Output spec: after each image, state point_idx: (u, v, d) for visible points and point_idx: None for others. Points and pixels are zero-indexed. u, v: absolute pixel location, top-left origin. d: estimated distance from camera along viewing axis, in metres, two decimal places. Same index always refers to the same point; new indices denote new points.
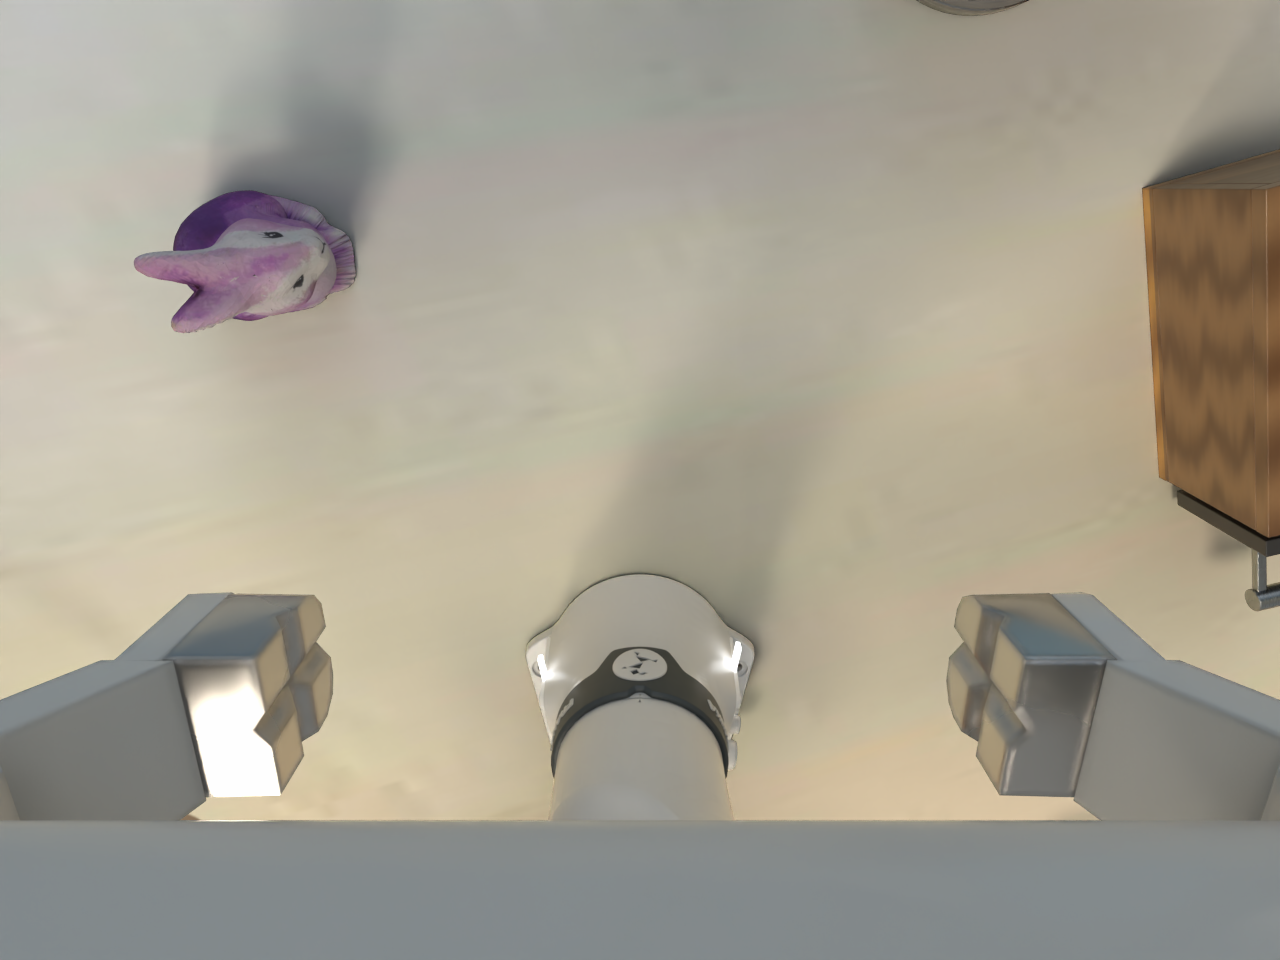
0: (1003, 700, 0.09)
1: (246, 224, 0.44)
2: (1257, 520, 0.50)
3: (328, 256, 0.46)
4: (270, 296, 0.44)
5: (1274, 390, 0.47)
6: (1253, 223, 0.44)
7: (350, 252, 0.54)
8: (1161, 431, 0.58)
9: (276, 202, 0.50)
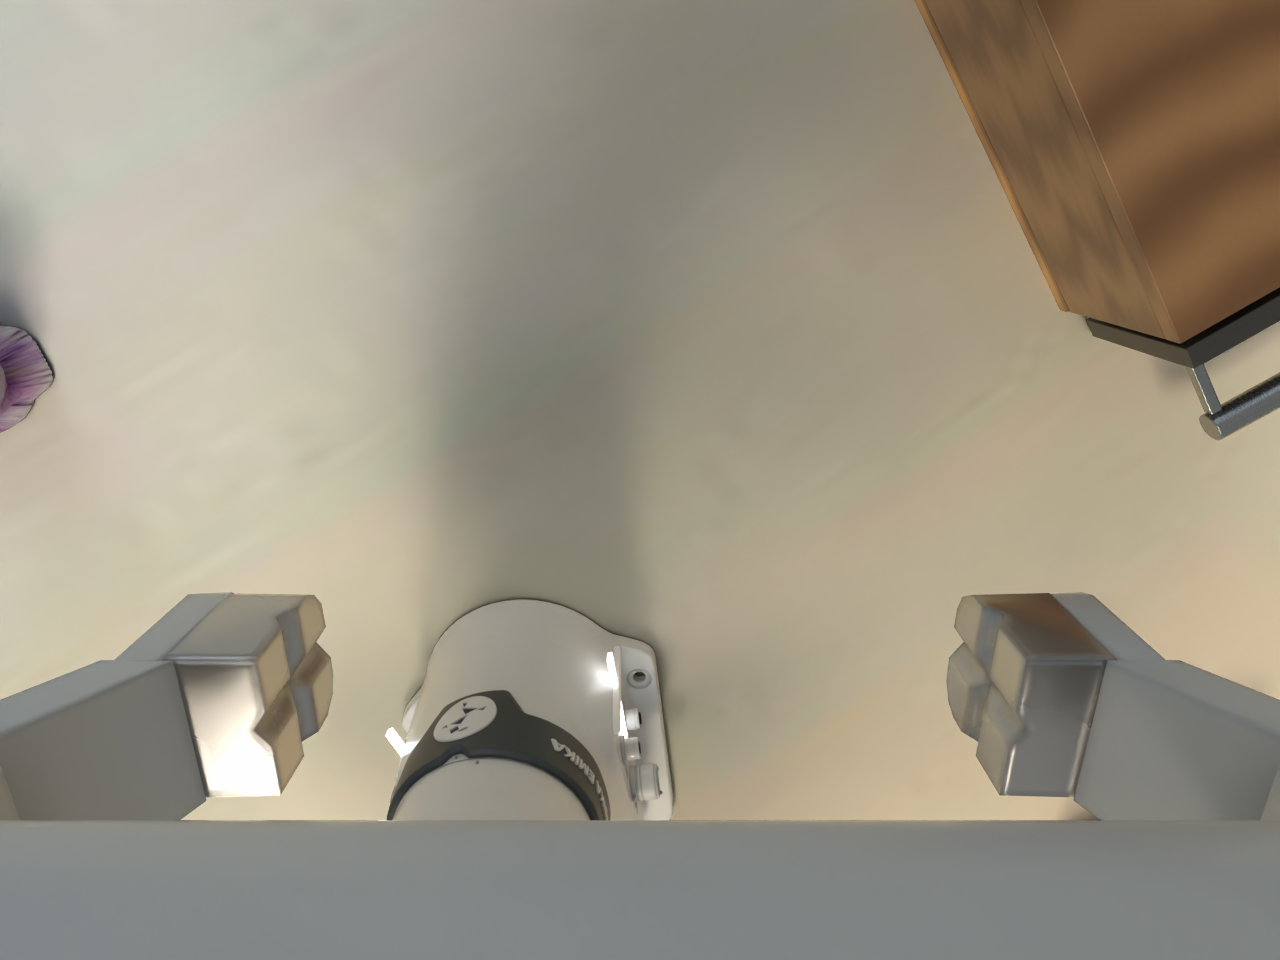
0: (1003, 700, 0.09)
1: None
2: (1161, 325, 0.37)
3: None
4: None
5: (1108, 149, 0.34)
6: None
7: (32, 347, 0.48)
8: (1038, 252, 0.46)
9: None
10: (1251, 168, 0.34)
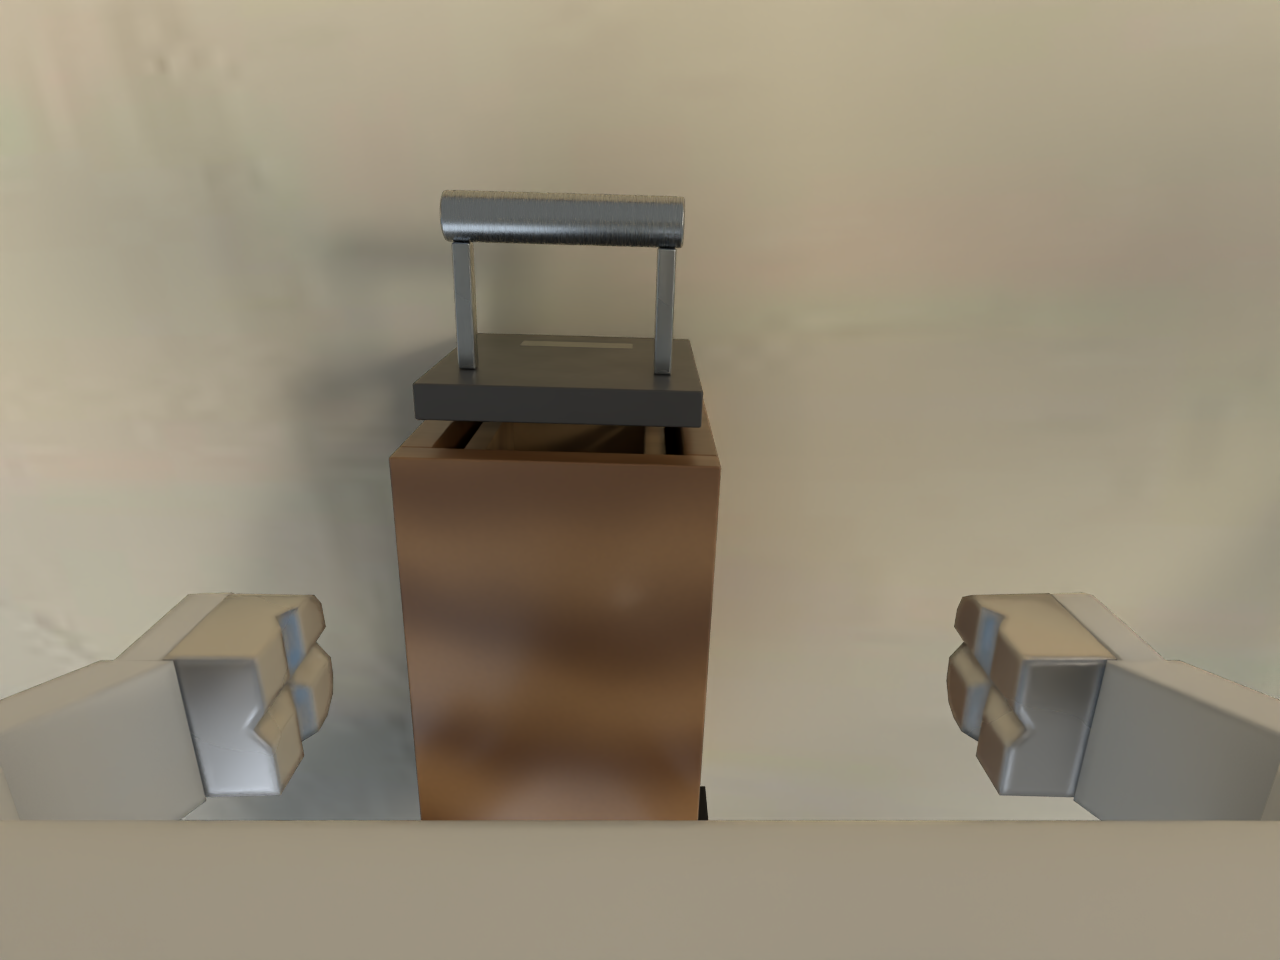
0: (1003, 700, 0.09)
1: None
2: None
3: None
4: None
5: (692, 729, 0.28)
6: None
7: None
8: None
9: None
10: (553, 622, 0.26)
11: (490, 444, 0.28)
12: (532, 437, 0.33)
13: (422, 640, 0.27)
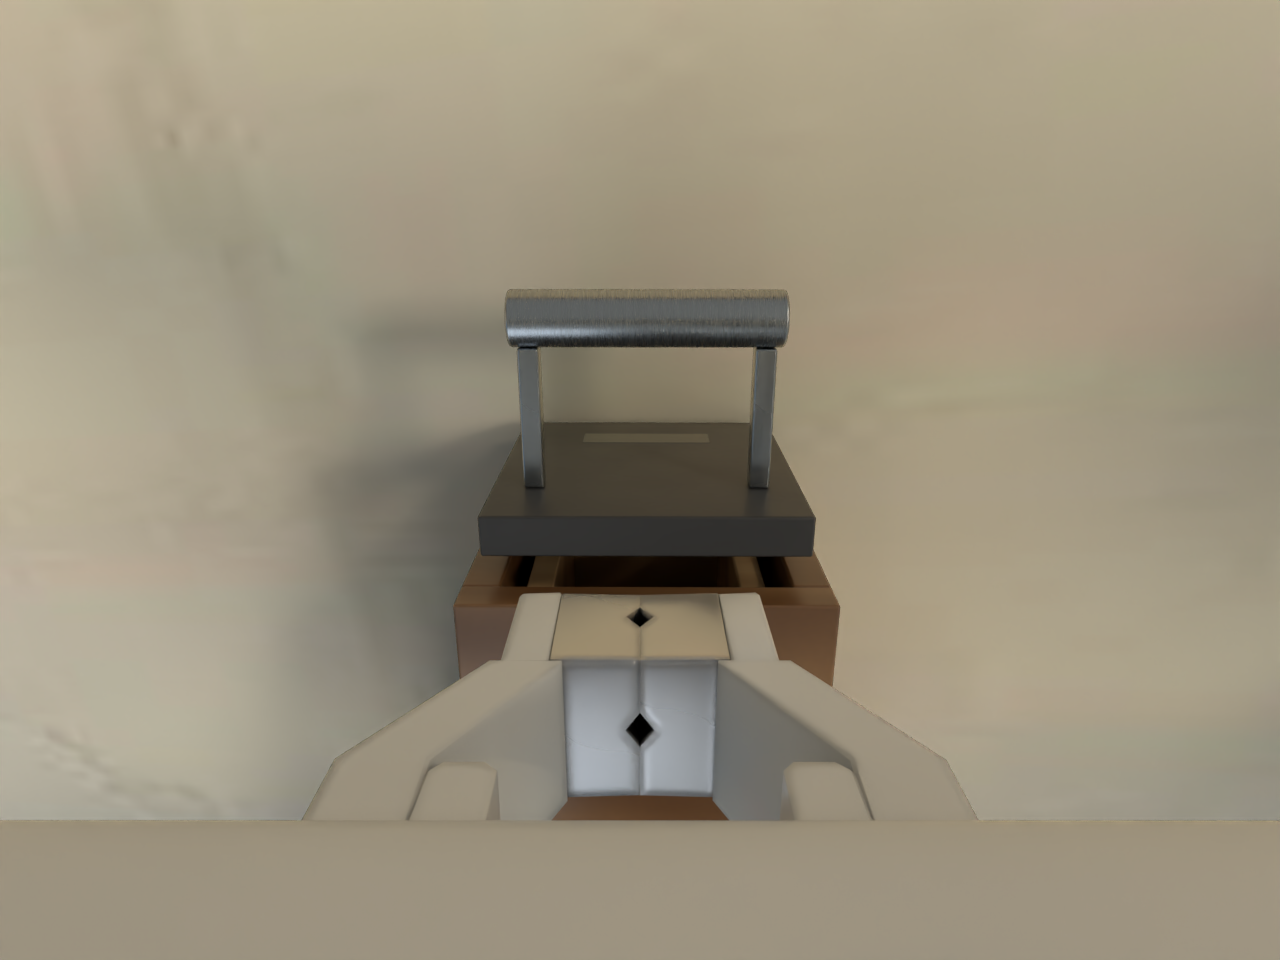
0: None
1: None
2: None
3: None
4: None
5: None
6: None
7: None
8: None
9: None
10: None
11: (558, 565, 0.25)
12: None
13: None
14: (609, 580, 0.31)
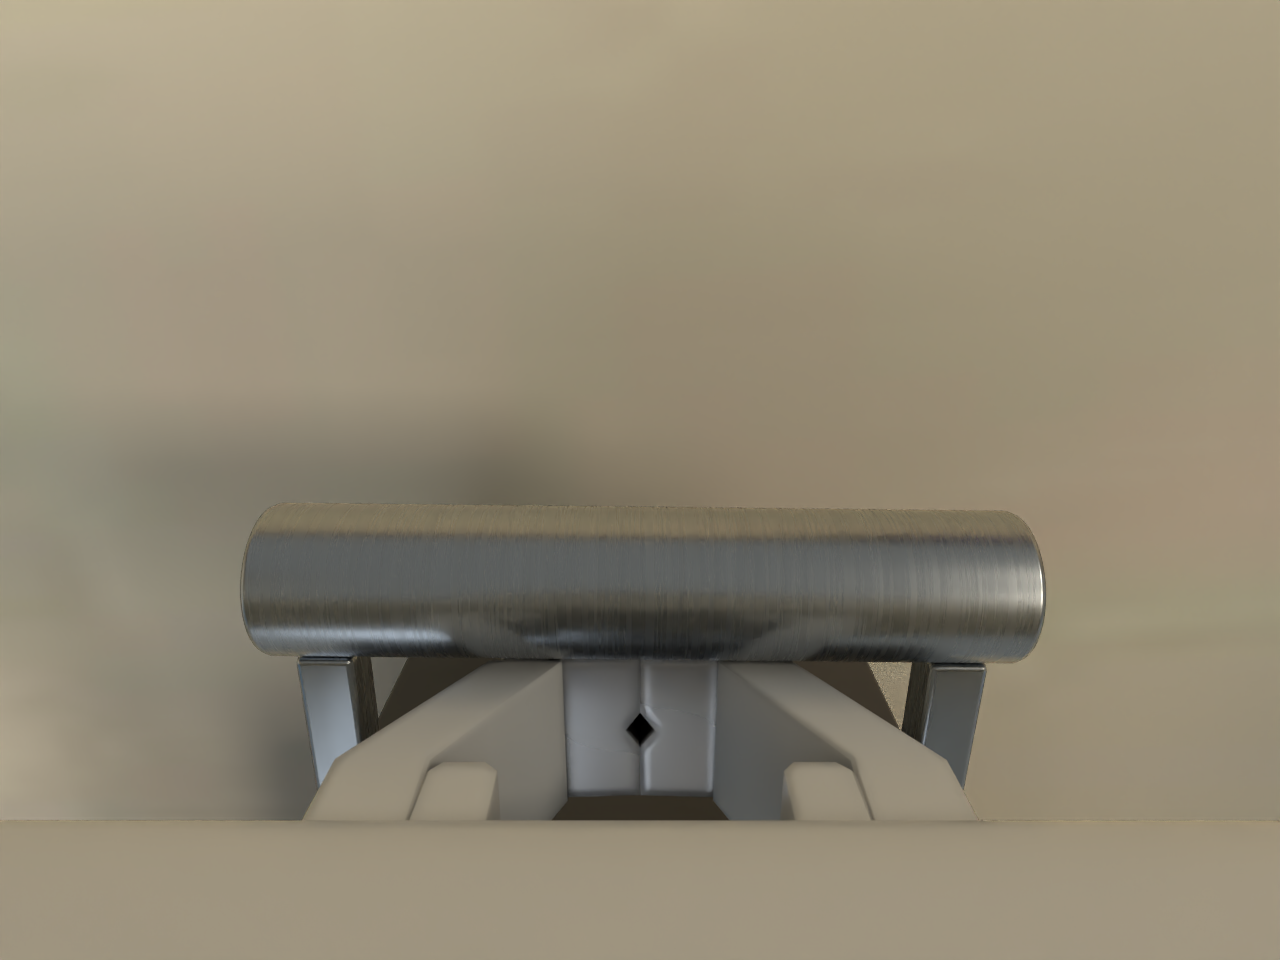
0: None
1: None
2: None
3: None
4: None
5: None
6: None
7: None
8: None
9: None
10: None
11: None
12: None
13: None
14: None
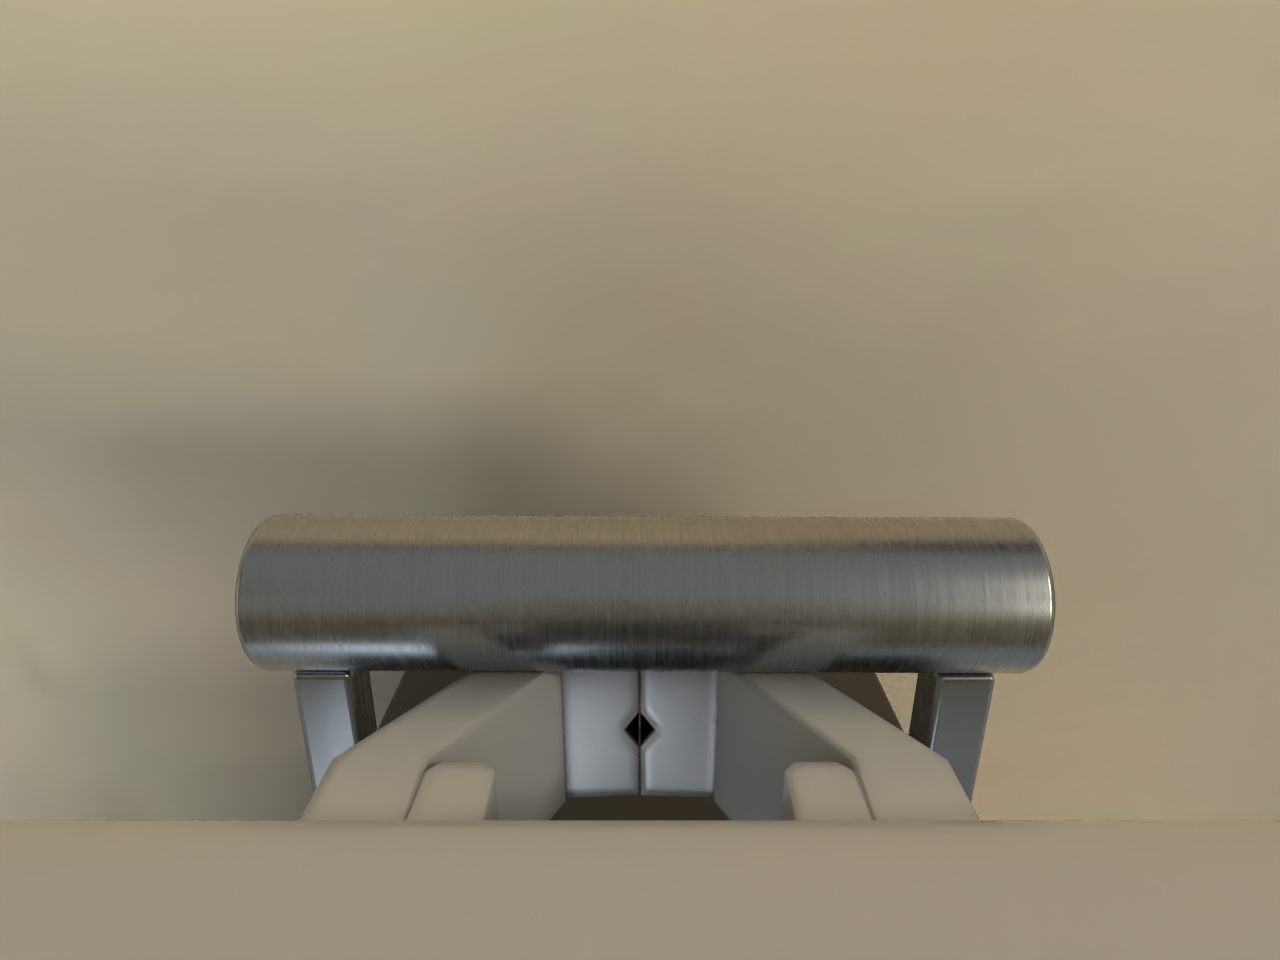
0: None
1: None
2: None
3: None
4: None
5: None
6: None
7: None
8: None
9: None
10: None
11: None
12: None
13: None
14: None
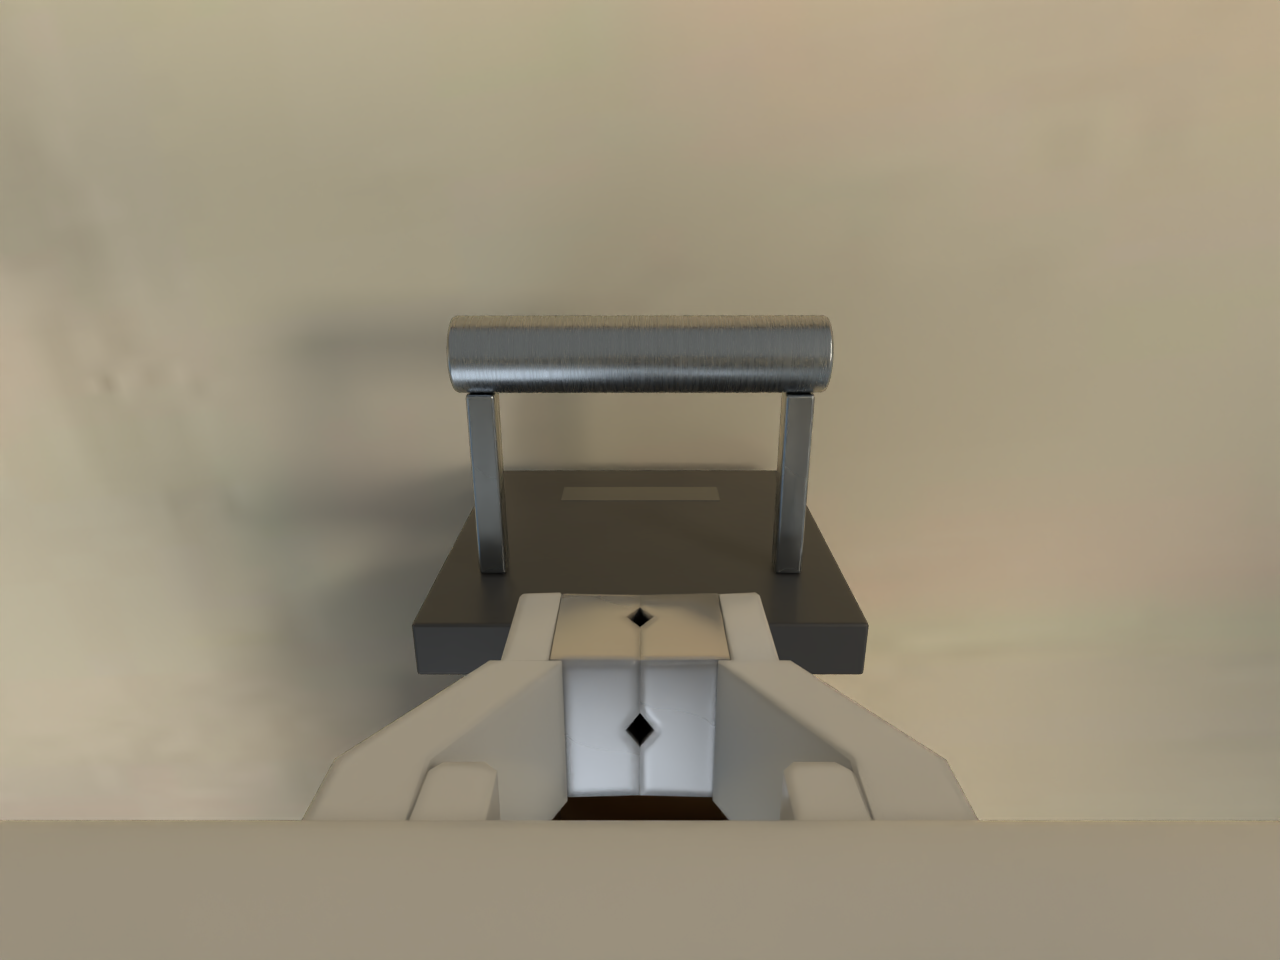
0: None
1: None
2: None
3: None
4: None
5: None
6: None
7: None
8: None
9: None
10: None
11: None
12: None
13: None
14: None
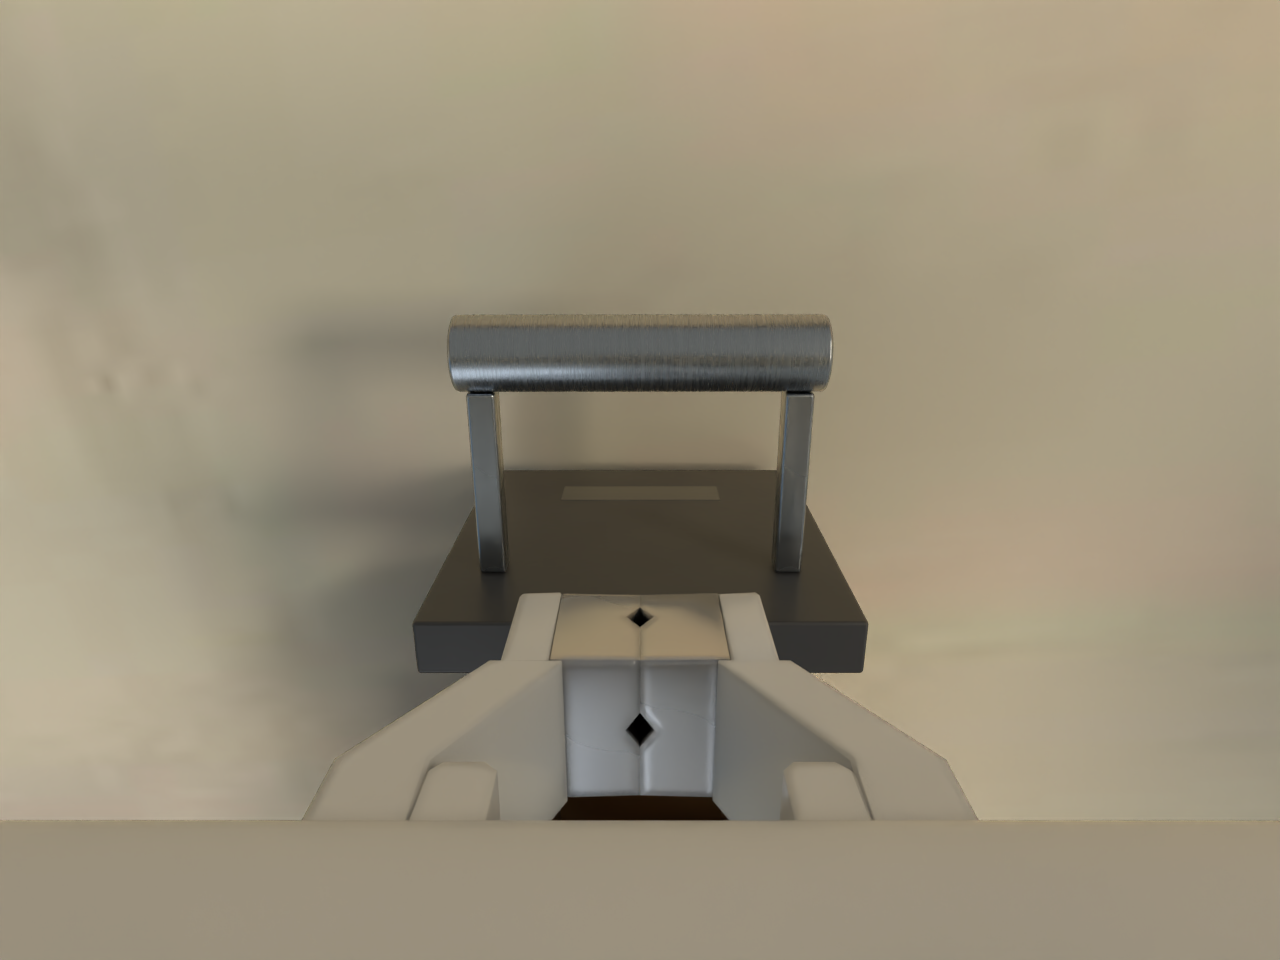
0: None
1: None
2: None
3: None
4: None
5: None
6: None
7: None
8: None
9: None
10: None
11: None
12: None
13: None
14: None
